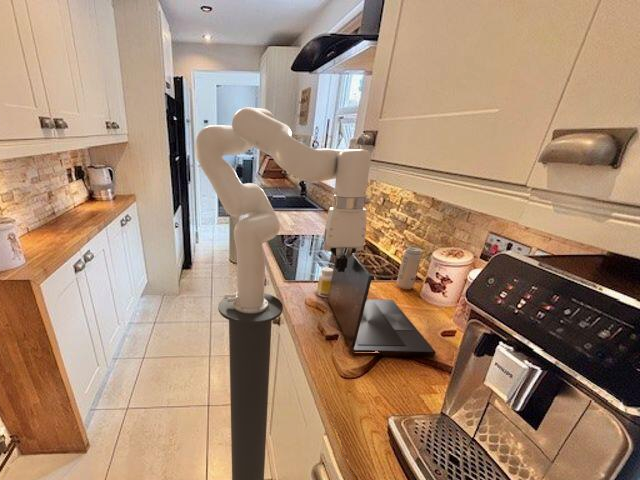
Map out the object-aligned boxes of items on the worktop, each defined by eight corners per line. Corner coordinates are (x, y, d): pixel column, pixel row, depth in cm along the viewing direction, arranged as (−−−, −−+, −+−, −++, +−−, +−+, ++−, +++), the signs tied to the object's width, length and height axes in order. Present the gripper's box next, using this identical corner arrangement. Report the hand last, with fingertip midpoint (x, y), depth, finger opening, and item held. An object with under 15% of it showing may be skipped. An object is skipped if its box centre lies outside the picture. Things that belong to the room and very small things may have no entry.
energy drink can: (412, 291, 121) (423, 252, 114) (395, 288, 124) (404, 250, 117) (413, 285, 126) (423, 247, 119) (396, 282, 128) (405, 245, 122)
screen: (342, 239, 102) (339, 239, 102) (373, 276, 76) (369, 275, 76) (330, 298, 112) (327, 298, 112) (354, 350, 85) (350, 349, 85)
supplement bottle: (335, 295, 118) (338, 270, 114) (324, 298, 116) (327, 273, 111) (324, 290, 122) (328, 265, 118) (313, 293, 120) (316, 268, 115)
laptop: (391, 304, 112) (392, 299, 111) (434, 357, 85) (436, 351, 84) (329, 303, 113) (330, 298, 112) (353, 355, 86) (354, 349, 85)
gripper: (373, 200, 86) (363, 265, 94) (316, 200, 86) (311, 265, 95) (383, 205, 79) (371, 275, 87) (321, 206, 80) (315, 275, 88)
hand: (340, 270), depth 91 cm, fingers closed
